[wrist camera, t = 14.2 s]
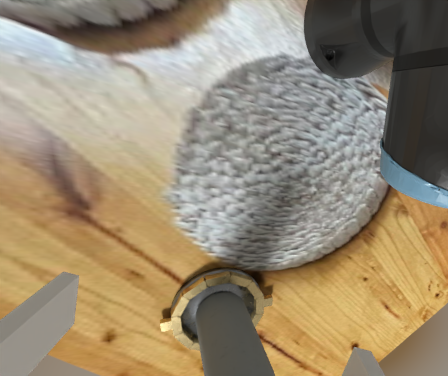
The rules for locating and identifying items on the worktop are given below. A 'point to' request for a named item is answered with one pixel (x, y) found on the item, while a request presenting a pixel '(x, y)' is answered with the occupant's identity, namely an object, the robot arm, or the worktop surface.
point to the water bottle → (229, 338)
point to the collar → (205, 287)
